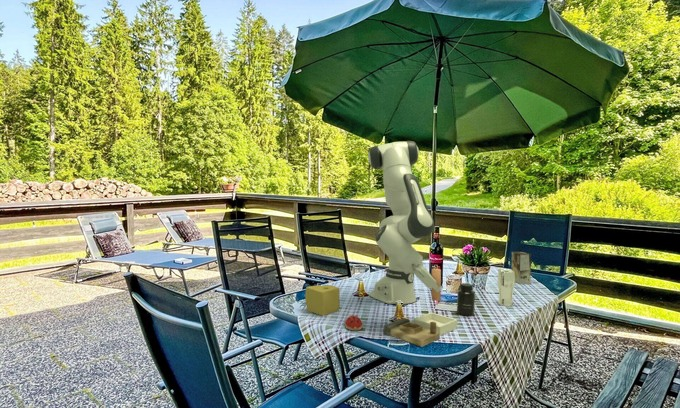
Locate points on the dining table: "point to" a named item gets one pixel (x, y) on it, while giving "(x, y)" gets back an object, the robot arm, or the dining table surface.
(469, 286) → the supplement bottle
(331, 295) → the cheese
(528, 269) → the coffee box
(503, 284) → the beige tall block
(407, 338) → the bench plate
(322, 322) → the dining table surface
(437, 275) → the dowel
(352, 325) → the red domed piece
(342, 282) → the dining table surface
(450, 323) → the tray
